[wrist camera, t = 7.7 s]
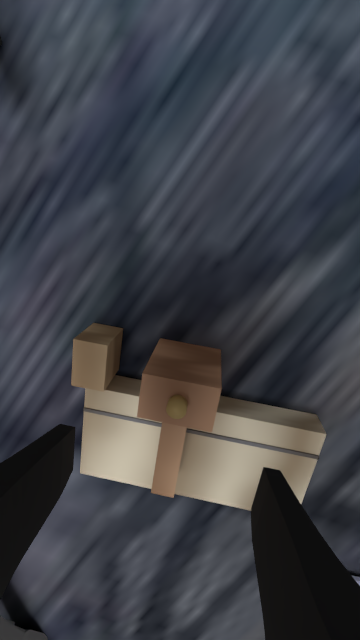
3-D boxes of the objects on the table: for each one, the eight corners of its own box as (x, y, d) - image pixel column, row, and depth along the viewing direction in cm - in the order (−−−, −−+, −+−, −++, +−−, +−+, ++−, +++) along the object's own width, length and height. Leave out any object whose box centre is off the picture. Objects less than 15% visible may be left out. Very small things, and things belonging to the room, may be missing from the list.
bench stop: (123, 328, 20) (107, 345, 18) (119, 369, 21) (103, 391, 18) (93, 322, 21) (73, 339, 18) (90, 363, 21) (71, 385, 19)
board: (316, 414, 21) (327, 435, 19) (289, 495, 23) (295, 521, 21) (97, 371, 22) (84, 386, 20) (91, 453, 24) (79, 474, 22)
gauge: (220, 349, 20) (221, 395, 15) (198, 453, 23) (193, 523, 17) (160, 338, 20) (139, 379, 15) (145, 442, 23) (123, 508, 18)
